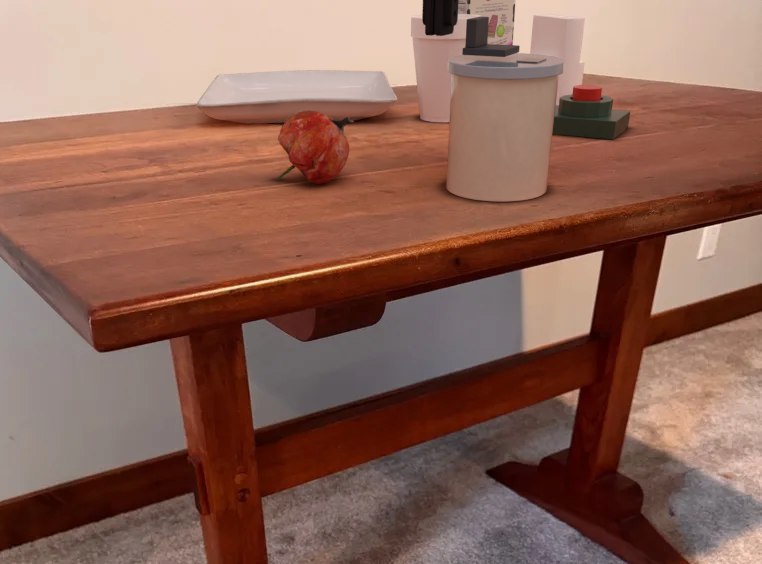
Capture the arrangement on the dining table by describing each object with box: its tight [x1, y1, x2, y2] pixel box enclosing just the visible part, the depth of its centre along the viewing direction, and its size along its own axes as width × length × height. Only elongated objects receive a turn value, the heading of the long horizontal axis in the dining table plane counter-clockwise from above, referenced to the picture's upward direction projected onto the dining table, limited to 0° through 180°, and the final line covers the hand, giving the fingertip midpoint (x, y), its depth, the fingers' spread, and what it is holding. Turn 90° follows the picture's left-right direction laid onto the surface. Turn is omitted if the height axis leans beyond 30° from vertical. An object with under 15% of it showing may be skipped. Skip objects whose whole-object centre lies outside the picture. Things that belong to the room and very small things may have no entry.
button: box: [572, 84, 603, 101], centre depth 102 cm, size 4×4×2 cm
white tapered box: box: [529, 13, 586, 105], centre depth 119 cm, size 9×9×12 cm
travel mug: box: [445, 52, 565, 203], centre depth 78 cm, size 11×11×12 cm
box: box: [552, 94, 631, 141], centre depth 104 cm, size 10×8×4 cm
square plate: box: [196, 69, 398, 124], centre depth 119 cm, size 27×27×4 cm
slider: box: [462, 17, 520, 57], centre depth 74 cm, size 4×4×3 cm
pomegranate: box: [276, 110, 355, 185], centre depth 82 cm, size 7×7×10 cm
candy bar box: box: [458, 0, 516, 45], centre depth 131 cm, size 11×5×16 cm, turn 129°
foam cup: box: [410, 14, 481, 123], centre depth 110 cm, size 10×9×13 cm
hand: (439, 33), depth 77 cm, fingers closed
